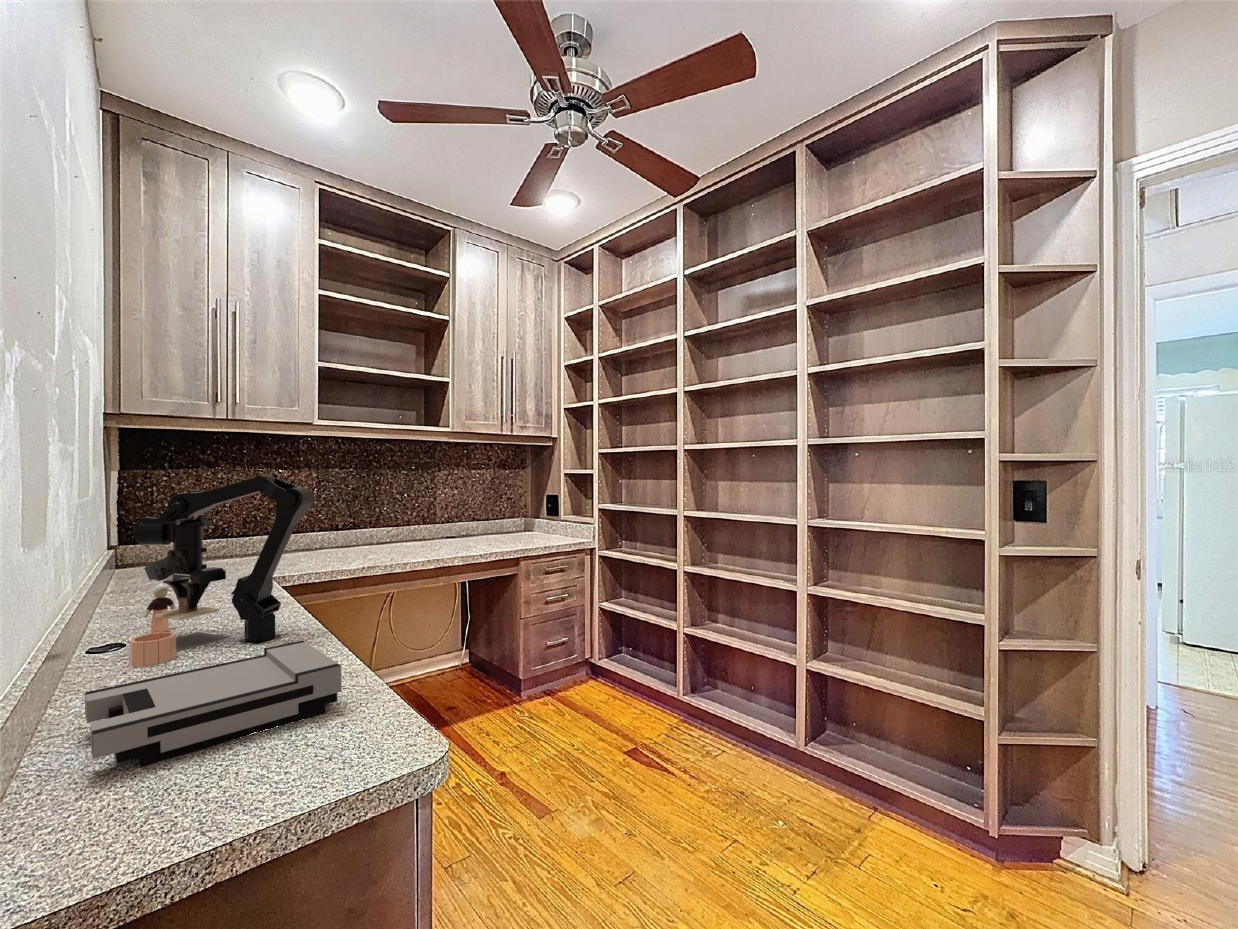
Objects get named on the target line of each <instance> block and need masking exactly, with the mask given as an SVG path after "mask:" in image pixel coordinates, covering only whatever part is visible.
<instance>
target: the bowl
mask: <svg viewBox="0 0 1238 929" xmlns="http://www.w3.org/2000/svg"><path fill="white" fill-rule="evenodd" d="M176 638H177V633H175V632H174V631H168V632H158V633H151V632H150V633H146V634H143V635H139V636H135V637H133V638H130V639H129V665H130V666H131V667H136V668H138V667H140V668H141V667H143V668H144V667H149V666H150V667H151V666H157V665H160V664H161V665H162V664H165V663H168V662H171V661H173V660H174V659H175V658H177V651H176Z"/></svg>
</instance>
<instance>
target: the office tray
mask: <svg viewBox="0 0 1238 929" xmlns="http://www.w3.org/2000/svg"><path fill="white" fill-rule="evenodd" d="M263 651H264V653H263V654H261V655H257V656H250V657H247V658H242V659H237V660H232V661H227V662H223V663H222V662H221V663H218V664H214V665H210V666H204V667H200V668H199V667H198V668H196V669H190V670H189V669H188V670H185V671H180V672H176V673H171V674H170V673H169V674H166V675H161V676H157V677H156V676H155V677H151V678H145V679H142V680H138V681H137V680H136V681H133V682H127V683H123V684H117V685H114V686H113V685H112V686H108V687H104V688H100V689H99V688H98V689H94V690H90V691H85V692H84V714H85V720H86V723H87V724H89V723H90V749H91V755H92V760H95V759H98V758H102V757H106V756H110V755H114V758H115V761H116V764H117V765H118V764H121V763H125V762H129V761H132V760H135V759H137V761H138V762H137V763H138V765H139V768H144V767H148V766H151V765H153V764H158V763H161V762H164V761H167V760H171V759H174V758H178V757H182V756H185V755H188V754H192V753H195V752H199V751H202V750H205V749H208V748H213V747H216V746H219V745H222V743H223V744H226V743H230V742H232V741H231V740H233V739H237V740H239V739H238V738H240V737H243V736H247V735H249V734H251V733H254V732H260V731H263V730H265V729H271V728H274V727H276V726H281V727H284V726H286V725H285V724H288V723H291V722H295V723H297V721H298V722H300V721H299V720H301V721H303V720H302V719H305V720H308V719H312V718H315V717H318V716H321V715H322V716H323V715H325V714H327V710H326V709H327V708H326V707H327V705H329V704H333V703H336V702H338V693H340V692H342V665H341V664H339V663H338V662H336V661H335V660H333V659H332V658H331V657H329V656H328V655H326V654H324V653H323V652H321V651H319V649H317V648H315V647H314V646H312V645H311V644H309V643H308V642H306V641H305V640H299V641H293V642H288V643H284V644H279V645H273V646H269V647H264V649H263ZM314 716H315V717H314ZM311 717H312V718H311ZM291 724H292V723H291ZM283 725H284V726H283ZM288 725H289V724H288ZM274 729H275V728H274ZM271 730H272V729H271ZM260 733H261V732H260ZM247 737H248V736H247ZM243 738H244V737H243ZM240 739H241V738H240ZM233 741H234V740H233Z"/></svg>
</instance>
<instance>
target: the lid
mask: <svg viewBox="0 0 1238 929" xmlns="http://www.w3.org/2000/svg"><path fill="white" fill-rule="evenodd" d="M220 610H221V609H220V608H219V607H218V608H216V607H210V606H202V605H197V606H196V608H195V609H192V610H190V609H189V605H188V596H185V597H180V598H179V602H178V609H173V610H169V611H168V610H167V612H164V613H159V614H155V617H160V618H168V620H176V621H184V620H187V619H192V618H196V617H200V616H204V615H209V614H214V613H216V612H220Z"/></svg>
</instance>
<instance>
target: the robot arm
mask: <svg viewBox="0 0 1238 929" xmlns="http://www.w3.org/2000/svg"><path fill="white" fill-rule="evenodd" d="M260 493H261V494H263V495H264V496H265V497H267V499H269V500H271V501H272V502H275V507H274V513H275V514H274V517H275V519H274V522H273V524H272V527H271V529H270V532H269V534H268V535H267V538H266V540H265V543H264V544H263V546H262V549H261V551H260V554H259V556H258V558H257V560H256V562H255V565H254V567H253V569H252V571H251V572H250V574H249V575H245V576H242V577H239V578H237V581H236V585H235V588H234V589H233V591H232V592H231V593H230V595H231V596H232V597H231V604H232V606H233V608H234V609H235V610H236V611H237V613H238V615H239V618H240V620H241V621H244V638H242V639H239V640H238V641H239V643H244V644H245V643H246V644H253V645H259V644H263V643H266V642H269V641H272V640H275V639H278V638H281V637H282V635H281V634H276V614H275V612H278V611H279V610H280V607H281V605H282V602H281V601H279V599H277V598H276V597H275V596H274V595H273V588H274V582H273V581H274V580H273V577H274V574H275V572H276V570H277V567H278V565H279V563H280V560H281V558H282V556H283V554H284V551H285V549H286V547H287V544H288V543H289V540H290V539H291V536H292V534H293V531H294V529H295V528H296V526H297V524H298V522H300V520H302V519H303V517H304V516H305V515H306V514H307V512H308V511H309V510H310V508H311V506H312V505H313V503H314V500H315V496H314V495H313V493H312V491H311V490H310V489H309V488H307V487H304V486H301V487H298V486H296V485H294V484H292V483H289V482H286V481H284V480H281V479H279V478H277V477H275V476H273V475H271V474H258V475H256V476H254V477H251V478H248V479H245V480H242V481H237V482H234V483H230V484H227V485H224V486H223V485H222V486H220V487H217V488H214V489H209V490H204V491H203V490H202V491H194V492H193V491H191V492H184V493H178V494H176V493H175V494H174V495H172V496H171V497H170V499H169V501H168V503H167V506H166V508H164V510H163V511H162V513H161V514H160V515H159V517H155V516H146V517H141V519H140V520H141V522H139V524H138V526H137V527H136V530H135V531H134V540H135V542H136V544H137V545H140V546H168V545H170V544H172V549H168V551H167V554H166V557H164V558H161V559H159V560H156V561H155V562H152V563H150V564H148V565H147V566H145V567H143V569H144V571H145V573H146V576H147V578H148V581H156V582H160V581H162V583H163V584H165V585H166V586H168V587H169V586H170V587H171V588H172V590H173V592H174V594H175V596H176V599H177V601H178V603H179V598H180V597H185V596H188V605H189V609H190V610H192V609H195V608H196V606H198V604H199V602H200V601H201V599H202V597H203V595H204V593H205V591H206V590H207V589H208V587H209V585H210V584H211V583H212V582H217V581H222V580H226V579H227V571H226V569H224V568H223V567H215V566H214V567H213V566H211V567H208V566H207V564H206V563H203V561H204V560H203V553H207V550H208V549H207V548H208V547H204V546H203V527H207V526H212V525H213V521H211V520H209V519H208V518H207V517H206V516H205V515H203V514H205V513H207V512H209V511H211V510H213V509H214V508H216V507H217V506H220V505H221V504H222V505H223V504H224V503H229V502H232V501H236V500H238V499H242V498H245V497H248V496H253V495H256V494H260ZM196 516H197V517H196ZM192 517H196V519H195V518H192ZM190 518H191V519H190ZM177 521H178V522H179V521H180V522H179V523H177Z"/></svg>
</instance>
